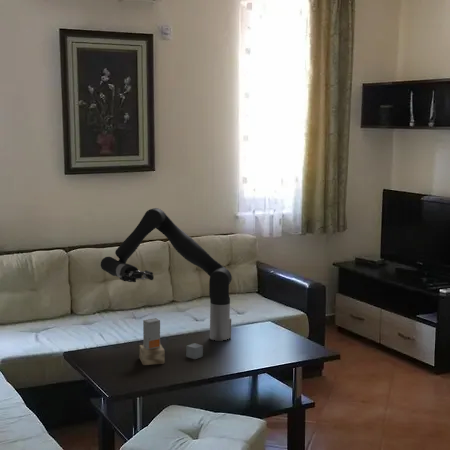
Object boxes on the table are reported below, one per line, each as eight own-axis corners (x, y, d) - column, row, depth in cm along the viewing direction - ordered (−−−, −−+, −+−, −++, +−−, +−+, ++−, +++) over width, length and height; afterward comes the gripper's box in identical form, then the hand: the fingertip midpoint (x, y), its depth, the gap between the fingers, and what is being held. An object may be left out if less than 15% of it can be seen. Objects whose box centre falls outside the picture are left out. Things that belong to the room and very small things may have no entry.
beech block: (160, 357, 297) (160, 343, 296) (164, 364, 289) (164, 350, 288) (139, 358, 295) (139, 345, 294) (143, 365, 286) (143, 351, 285)
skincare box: (148, 350, 287) (147, 322, 285) (143, 347, 291) (142, 320, 289) (160, 347, 291) (160, 320, 289) (155, 344, 294) (155, 317, 292)
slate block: (194, 354, 302) (194, 343, 301) (202, 356, 298) (202, 345, 298) (186, 356, 298) (186, 345, 297) (194, 359, 295) (194, 348, 294)
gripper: (112, 265, 311) (129, 272, 298) (141, 262, 319) (158, 268, 306) (112, 282, 312) (129, 289, 299) (141, 278, 320) (158, 285, 307)
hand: (143, 278), depth 302 cm, fingers open, 8 cm apart
